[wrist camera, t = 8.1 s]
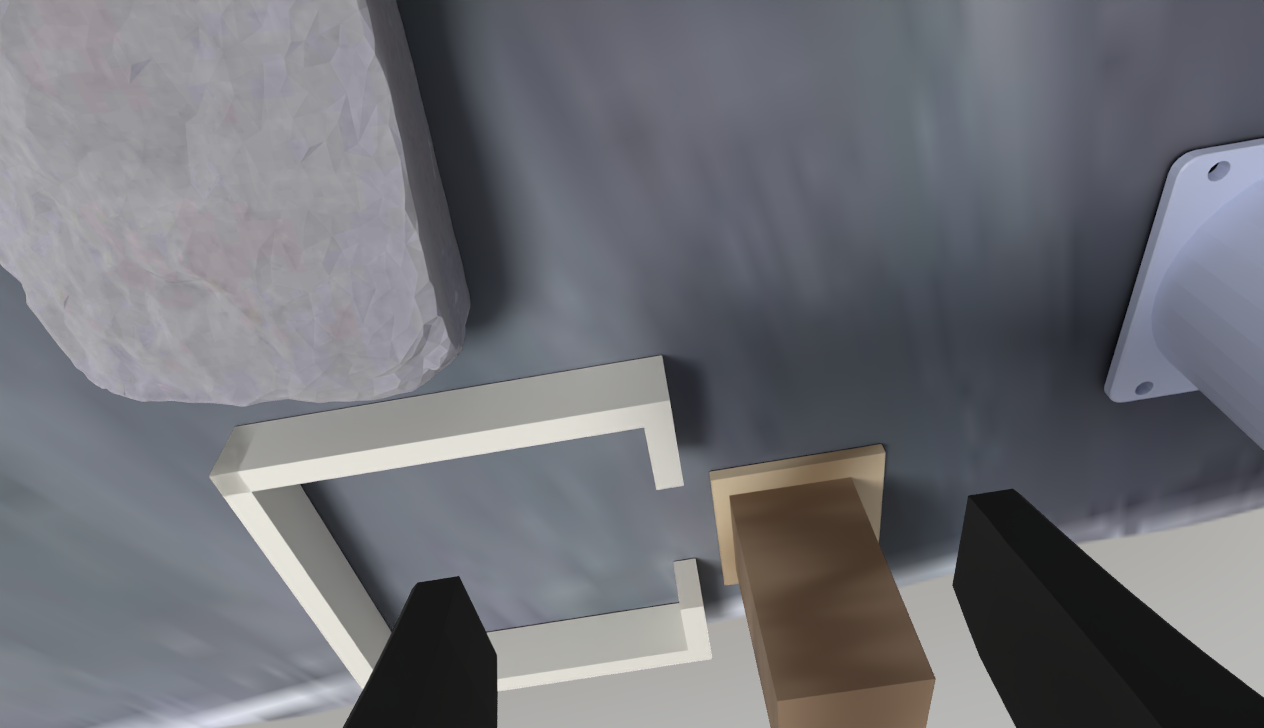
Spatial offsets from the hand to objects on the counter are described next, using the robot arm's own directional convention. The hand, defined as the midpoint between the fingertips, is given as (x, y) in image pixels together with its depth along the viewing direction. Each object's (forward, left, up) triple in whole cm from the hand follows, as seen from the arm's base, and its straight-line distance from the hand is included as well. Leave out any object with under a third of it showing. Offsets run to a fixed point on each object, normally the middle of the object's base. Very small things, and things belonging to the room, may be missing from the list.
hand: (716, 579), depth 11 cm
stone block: (+9, -5, -11) cm, 15 cm away
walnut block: (-3, +12, -10) cm, 16 cm away
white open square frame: (+6, +10, -10) cm, 16 cm away
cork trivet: (-4, +12, -10) cm, 16 cm away
